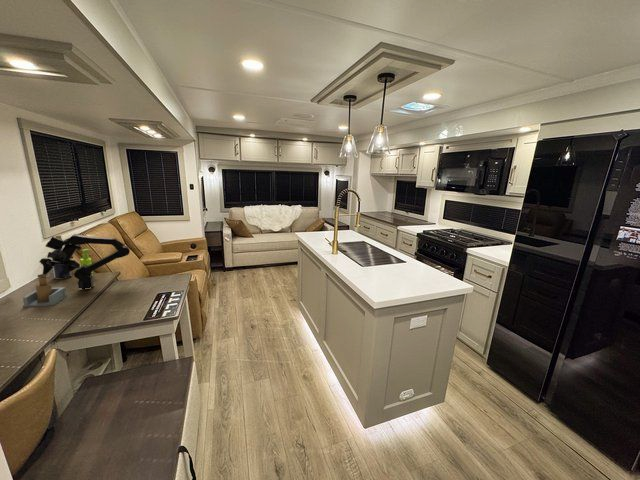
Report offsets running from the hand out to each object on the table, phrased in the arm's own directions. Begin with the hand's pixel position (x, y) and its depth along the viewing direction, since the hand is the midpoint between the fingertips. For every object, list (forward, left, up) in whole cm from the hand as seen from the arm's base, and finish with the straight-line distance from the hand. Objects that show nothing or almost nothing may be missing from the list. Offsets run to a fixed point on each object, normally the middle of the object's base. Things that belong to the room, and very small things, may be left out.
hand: (51, 276), depth 149 cm
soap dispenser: (-2, -38, -14) cm, 40 cm away
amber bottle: (+2, +5, -12) cm, 13 cm away
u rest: (+2, +5, -14) cm, 15 cm away
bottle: (+12, -38, -14) cm, 42 cm away
